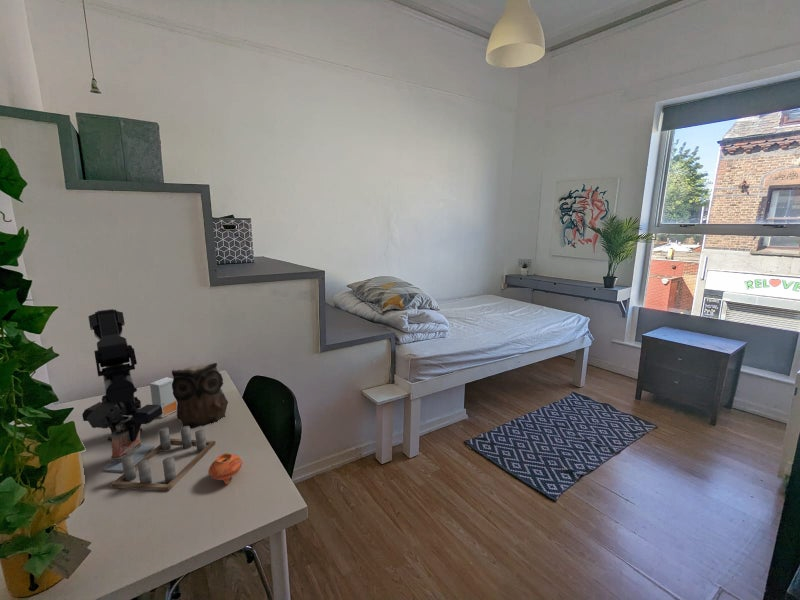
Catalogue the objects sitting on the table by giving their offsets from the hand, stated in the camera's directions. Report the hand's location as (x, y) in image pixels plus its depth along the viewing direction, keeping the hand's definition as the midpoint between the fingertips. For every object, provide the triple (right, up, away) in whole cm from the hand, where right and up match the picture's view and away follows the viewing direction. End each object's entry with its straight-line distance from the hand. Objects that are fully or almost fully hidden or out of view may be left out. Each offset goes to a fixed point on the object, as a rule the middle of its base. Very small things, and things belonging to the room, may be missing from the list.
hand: (127, 440), depth 102 cm
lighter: (-1, -4, +1) cm, 4 cm away
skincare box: (-6, -1, +26) cm, 27 cm away
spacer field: (+12, -6, -1) cm, 13 cm away
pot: (+31, -7, -6) cm, 32 cm away
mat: (0, -5, +1) cm, 6 cm away
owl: (+9, -1, +23) cm, 25 cm away
